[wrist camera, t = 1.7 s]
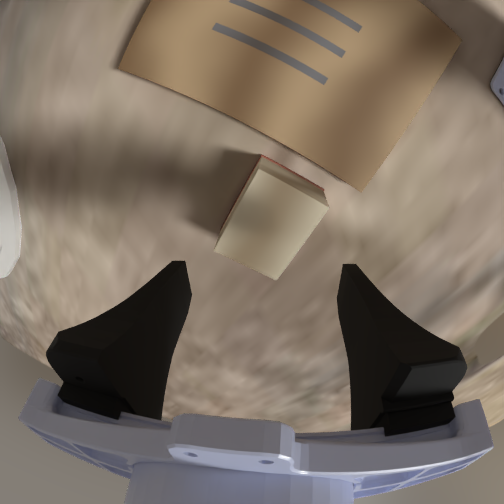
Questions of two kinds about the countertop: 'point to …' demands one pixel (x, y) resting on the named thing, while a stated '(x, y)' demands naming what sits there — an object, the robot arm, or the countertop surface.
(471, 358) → the countertop surface
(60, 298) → the countertop surface
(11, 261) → the dish
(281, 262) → the block
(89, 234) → the countertop surface
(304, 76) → the board
